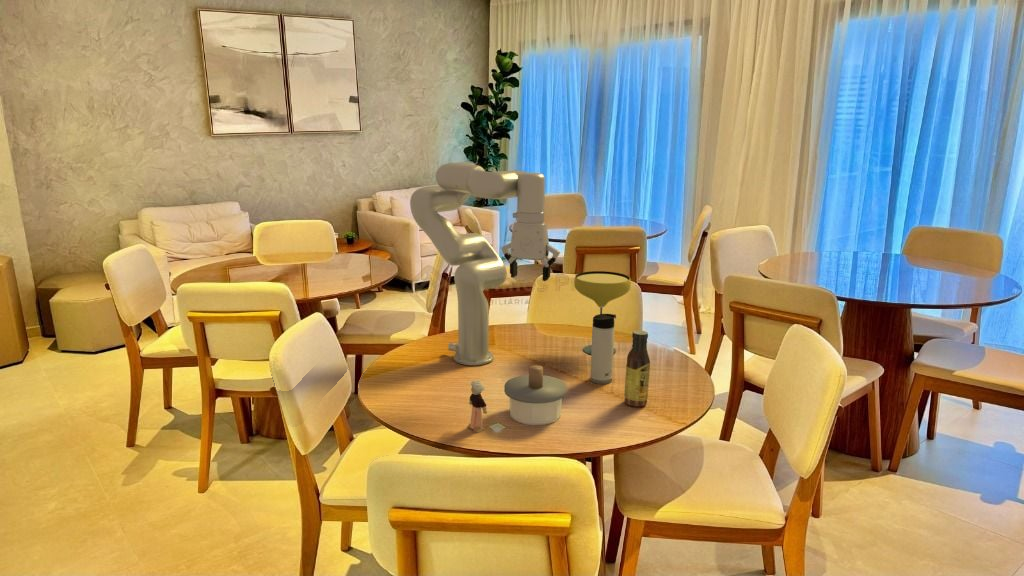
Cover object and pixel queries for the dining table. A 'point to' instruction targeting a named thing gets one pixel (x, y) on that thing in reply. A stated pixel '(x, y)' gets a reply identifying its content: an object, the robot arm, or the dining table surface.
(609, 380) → the travel mug
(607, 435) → the dining table surface
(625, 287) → the cocktail glass
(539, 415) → the bowl
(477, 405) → the grandmother figurine
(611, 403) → the dining table surface
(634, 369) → the sauce bottle
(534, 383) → the lid
